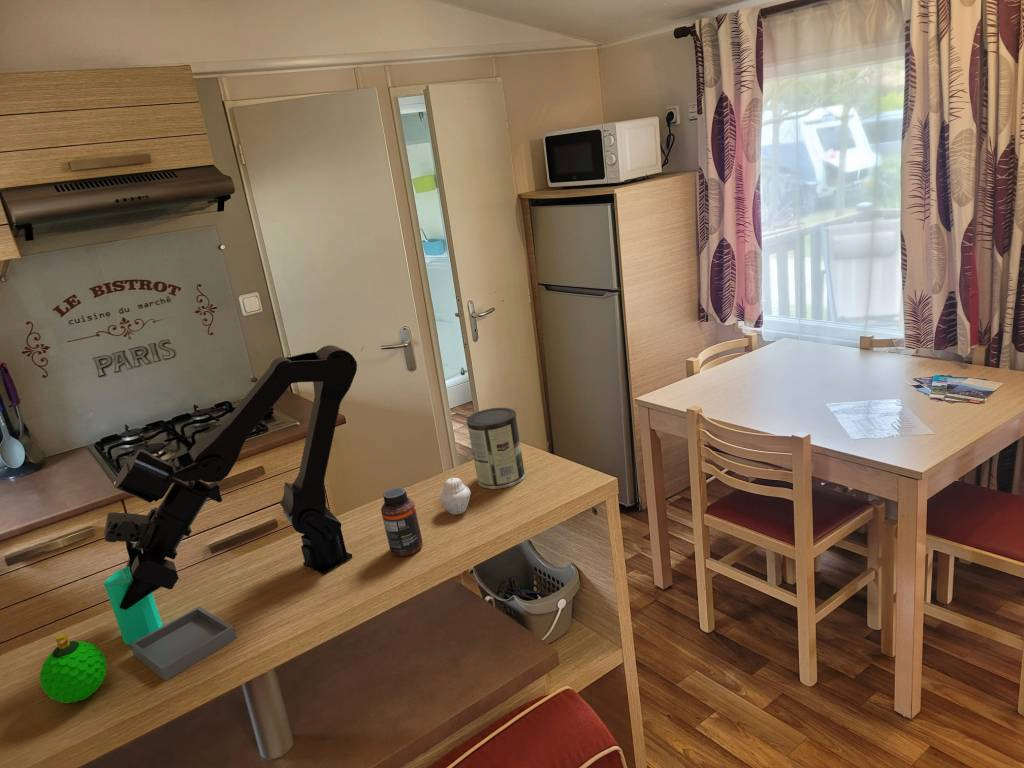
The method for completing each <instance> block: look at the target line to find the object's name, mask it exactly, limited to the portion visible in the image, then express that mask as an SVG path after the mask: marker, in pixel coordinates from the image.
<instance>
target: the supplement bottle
mask: <svg viewBox="0 0 1024 768" xmlns="http://www.w3.org/2000/svg"><path fill="white" fill-rule="evenodd" d="M383 501H384V503H383V504H382V506H381V509H380V510H381V516H382V521H383V526H384V530H385V534H386V538H387V543H388V547H389V551H390V553H391V554H392V555H394V556H396V557H405V556H406V557H407V556H410V555H413V554H415V553H417V552H418V551H420V549H421V548H422V547H423V545H424V543H423V537H422V533H421V529H420V523H419V518H418V513H417V509H416V506H415V502H414V500H413V499H412V498H410V497H408V494H407V490H406V488H404V487H400V486H399V487H393V488H390V489H388V490H385V492H383Z"/></svg>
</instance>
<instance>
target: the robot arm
mask: <svg viewBox="0 0 1024 768" xmlns="http://www.w3.org/2000/svg"><path fill="white" fill-rule="evenodd" d="M357 370H358V363H357V360H356V359H355V357H354V355H353V354H351V353H350V352H349V351H347V350H345V349H343V348H341V347H339V346H337V345H332V344H331V345H330V344H329V345H324V346H322V347H321V348H320V349H318V350H316V351H312V352H311V351H310V352H305V353H304V352H303V353H300V354H296V355H292V356H282V357H277V358H275V359H273V361H272V362H271V363H270V365H269V367H268V369H267V370H266V371H265V372H264V373H263V375H262V376H261V377H260V378H259V380H258V381H257V382H256V383H255V384H254V386H253V387H252V388H251V389H250V390H249V391H248V393H247V394H246V395H245V396H244V397H243V399H241V401H240V402H239V403H238V404H237V406H236V407H235V408H234V410H232V412H231V413H230V414H229V416H228V417H227V418H226V419H225V420H224V421H223V422H222V423H221V424H219V425H218V426H216V427H215V428H213V429H212V430H210V431H209V432H207V433H206V434H205V435H204V436H203V437H202V438H200V439H199V440H198V441H197V442H195V443H194V444H193V446H192V447H191V449H190V450H188V451H186V452H184V453H182V454H179V455H177V456H175V457H171V458H170V459H168V460H167V461H166V460H164V459H162V458H160V457H157V456H156V455H153V454H151V453H150V452H149V451H147V450H146V449H143V448H139V449H138V450H137V451H136V453H135V454H134V455H132V456H131V457H130V459H129V460H128V461H127V462H125V463H124V465H123V466H122V467H121V470H120V471H119V473H118V474H117V477H116V479H115V482H114V485H113V488H114V489H115V490H119V491H121V492H124V493H125V494H128V495H131V496H133V497H134V498H135V497H136V498H137V499H140V500H143V501H145V502H148V503H152V502H153V501H154V502H158V501H159V500H162V499H163V500H162V501H161V503H160V504H159V505H158V507H156V506H155V507H154V508H151V509H150V510H149V512H148V513H147V514H139V513H130V512H117V511H116V512H113V511H111V512H108V513H107V516H106V520H105V521H106V522H105V525H104V531H103V534H104V539H103V540H104V541H105V542H107V543H116V542H125V548H126V551H127V554H128V559H127V563H126V565H125V567H129V569H130V573H131V575H132V578H131V580H130V583H129V585H128V587H127V589H126V592H125V595H124V597H123V599H122V601H121V604H120V608H121V609H124V610H127V609H128V608H130V607H131V606H133V605H134V604H136V603H137V602H138V601H140V600H141V599H143V598H144V597H146V596H147V595H149V594H150V593H152V594H153V592H155V591H157V590H159V589H160V588H163V589H166V590H173V588H174V587H175V585H176V583H177V582H178V580H179V575H178V571H177V568H176V565H175V562H174V561H171V560H175V559H176V557H177V555H178V551H177V549H178V547H179V546H180V544H181V542H182V541H183V540H184V537H187V538H188V537H190V535H191V533H192V532H193V531H192V529H191V526H192V525H193V523H194V522H195V520H196V518H197V517H198V514H200V512H201V510H202V509H203V507H204V506H205V504H206V502H207V501H208V499H210V500H213V501H215V502H217V503H222V501H223V498H222V495H221V492H220V491H221V489H220V487H221V485H220V484H219V482H221V481H223V480H224V479H226V478H227V477H228V475H229V474H231V473H230V472H231V471H232V469H233V468H234V466H235V464H236V461H238V458H239V457H240V454H241V452H242V449H243V446H244V444H245V442H246V440H247V438H248V437H249V436H250V435H251V433H252V432H253V431H254V430H255V429H256V427H257V426H259V424H260V423H261V421H262V420H263V419H264V418H265V416H267V414H268V413H269V411H271V409H272V408H273V407H274V406H275V404H277V402H278V400H279V399H280V398H281V397H282V395H283V394H284V393H285V392H286V391H287V390H288V389H289V387H290V386H291V385H292V384H295V383H296V384H297V383H313V392H314V399H313V403H312V408H311V413H310V418H309V423H308V427H307V432H306V438H305V442H304V447H303V450H302V451H303V452H302V457H301V463H300V466H299V470H298V471H299V472H298V474H297V477H296V478H295V480H294V481H293V482H292V483H289V482H284V486H283V496H282V499H281V500H280V502H279V504H280V506H281V507H282V511H283V514H284V516H285V518H286V519H287V521H288V522H289V524H290V525H291V526H292V528H293V529H294V530H295V532H297V533H298V534H302V535H301V536H300V538H301V542H302V545H300V546H301V547H300V549H301V552H302V556H303V559H304V561H303V563H302V564H303V566H304V567H306V568H308V569H310V570H313V571H315V572H317V573H320V574H322V575H325V574H328V573H329V572H330V571H332V570H334V569H335V568H337V567H339V566H340V565H343V563H346V562H347V561H350V560H351V559H352V558H353V554H352V553H350V552H347V548H346V544H345V540H344V535H343V532H342V529H341V528H342V522H341V521H340V520H339V519H338V518H337V517H336V516H335V515H334V514H333V512H332V511H331V510H330V508H329V507H328V506H327V498H326V488H325V478H326V474H327V468H328V465H329V459H330V454H331V450H332V445H333V440H334V435H335V431H336V427H337V420H338V416H339V410H340V406H341V403H342V401H343V399H345V397H346V395H347V394H348V392H349V390H350V388H351V386H352V385H353V381H354V379H355V376H356V373H357ZM166 558H169V559H171V560H169V559H166Z"/></svg>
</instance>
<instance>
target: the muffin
mask: <svg viewBox="0 0 1024 768" xmlns="http://www.w3.org/2000/svg"><path fill="white" fill-rule="evenodd" d="M438 495H439V496H438V498H439V501H440V502H441V505H443V507H444V508H445V509H446V511H447V512H448V513H449V514H450V515H456V516H457V515H461V514H463V513H465V511H467V508H468V506H469V502H470V499H471V489H470V488H469V487H468V486H467V485H465V484H464V483H463V481H462V479H460V478H458V477H451V478H447V479H446V480H445V481H444V483H443V488H442V489H441V491H440V492H439V494H438Z"/></svg>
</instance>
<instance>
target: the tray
mask: <svg viewBox="0 0 1024 768" xmlns="http://www.w3.org/2000/svg"><path fill="white" fill-rule="evenodd" d="M236 639H237V635H236V631H235V627H234V626H233V625H231V624H229V623H227V622H226V621H225V620H223V619H221V618H219V617H218V616H216V615H214V614H213V613H211V612H209V611H208V610H206V609H204V608H203V607H201V606H200V605H199V606H197V607H195V608H194V609H192V610H190V611H188V612H186V613H183V615H180V616H178V617H177V618H175V619H173V620H171V621H169V622H168V623H166V624H164V625H163V626H162V627H160V628H158V629H157V630H155V631H153V632H151V633H149V634H147V635H146V636H144V637H142V638H140V639H138V640H137V641H135V642H133V643H131V644H129V647H130V650H131V651H132V654H133V656H134V657H135V659H138V661H140V662H141V663H142V664H143V665H145V666H147V668H148V669H150V670H151V671H153V672H154V674H156V675H158V677H160V678H161V679H162V680H164V681H165V682H167V681H168V680H170V679H171V678H173V677H175V676H176V675H178V674H180V673H182V672H183V671H185V670H186V669H188V668H190V667H191V666H193V665H194V664H196V663H198V662H200V661H201V660H204V658H206V657H208V656H209V655H211V654H213V653H214V652H217V651H218V650H219V649H221V648H223V647H224V646H226V645H228V644H229V643H232V642H233V641H234V640H236Z"/></svg>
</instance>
